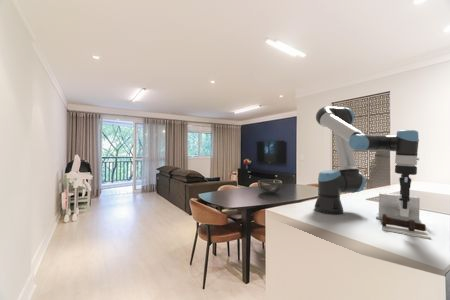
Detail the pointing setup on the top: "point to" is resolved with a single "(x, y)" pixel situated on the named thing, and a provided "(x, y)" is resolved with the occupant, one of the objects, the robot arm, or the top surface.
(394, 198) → the block
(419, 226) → the bolt
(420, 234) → the mat
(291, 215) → the top surface
